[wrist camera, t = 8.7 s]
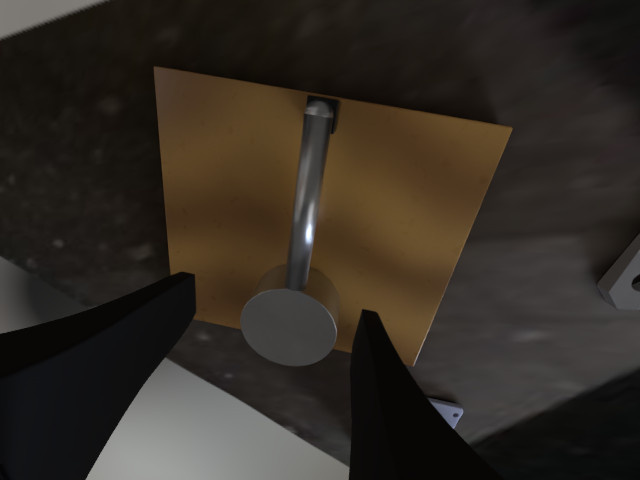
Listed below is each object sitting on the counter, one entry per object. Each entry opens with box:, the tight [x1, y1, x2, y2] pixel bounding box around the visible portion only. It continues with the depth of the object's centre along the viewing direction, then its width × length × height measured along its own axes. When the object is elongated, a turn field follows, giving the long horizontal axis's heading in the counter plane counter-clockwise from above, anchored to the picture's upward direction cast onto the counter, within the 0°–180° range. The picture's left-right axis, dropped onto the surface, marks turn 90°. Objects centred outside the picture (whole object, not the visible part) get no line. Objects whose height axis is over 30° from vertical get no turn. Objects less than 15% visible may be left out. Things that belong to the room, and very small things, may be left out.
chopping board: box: [154, 66, 513, 366], centre depth 20 cm, size 18×20×2 cm
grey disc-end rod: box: [240, 95, 341, 366], centre depth 18 cm, size 17×6×3 cm, turn 171°
